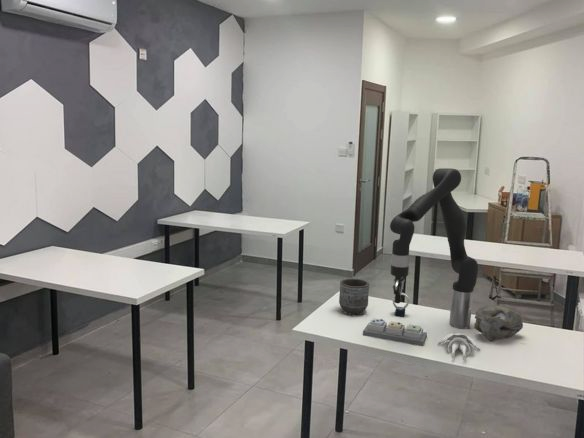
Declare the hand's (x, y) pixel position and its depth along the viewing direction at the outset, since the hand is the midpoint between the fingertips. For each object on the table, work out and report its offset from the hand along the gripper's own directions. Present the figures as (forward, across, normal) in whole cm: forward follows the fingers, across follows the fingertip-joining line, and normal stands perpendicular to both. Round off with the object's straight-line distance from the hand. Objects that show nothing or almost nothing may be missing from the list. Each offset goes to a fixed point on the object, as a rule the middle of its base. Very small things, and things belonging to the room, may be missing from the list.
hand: (397, 302), depth 224 cm
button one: (+14, 0, -8) cm, 16 cm away
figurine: (+16, -2, -27) cm, 31 cm away
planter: (+16, +21, +25) cm, 36 cm away
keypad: (+15, 0, 0) cm, 15 cm away
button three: (+13, 0, +8) cm, 16 cm away
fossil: (+16, +20, -41) cm, 48 cm away
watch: (+16, +27, +3) cm, 31 cm away
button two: (+13, 0, 0) cm, 13 cm away
